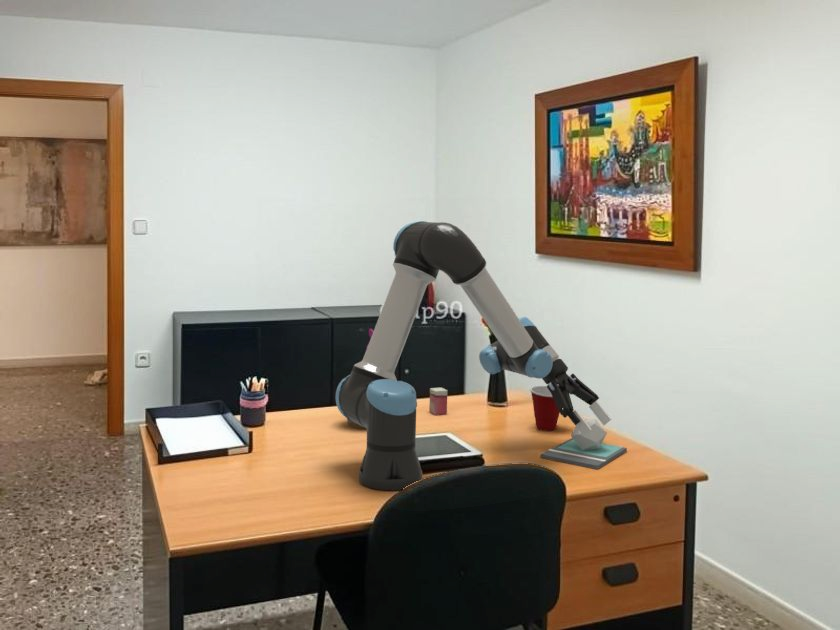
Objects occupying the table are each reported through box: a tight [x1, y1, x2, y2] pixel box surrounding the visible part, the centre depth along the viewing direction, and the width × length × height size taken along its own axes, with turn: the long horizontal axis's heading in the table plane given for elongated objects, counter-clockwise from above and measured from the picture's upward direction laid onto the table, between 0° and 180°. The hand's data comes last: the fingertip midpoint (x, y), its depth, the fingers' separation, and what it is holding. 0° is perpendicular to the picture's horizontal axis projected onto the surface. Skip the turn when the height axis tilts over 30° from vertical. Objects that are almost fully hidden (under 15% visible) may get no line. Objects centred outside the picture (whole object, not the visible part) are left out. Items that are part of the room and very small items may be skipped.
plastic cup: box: [529, 385, 560, 432], centre depth 242 cm, size 11×11×12 cm
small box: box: [428, 387, 448, 416], centre depth 259 cm, size 5×4×8 cm
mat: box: [539, 437, 628, 470], centre depth 217 cm, size 20×16×1 cm
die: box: [571, 418, 608, 450], centre depth 219 cm, size 8×9×10 cm
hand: (598, 427), depth 217 cm, fingers open, 13 cm apart
